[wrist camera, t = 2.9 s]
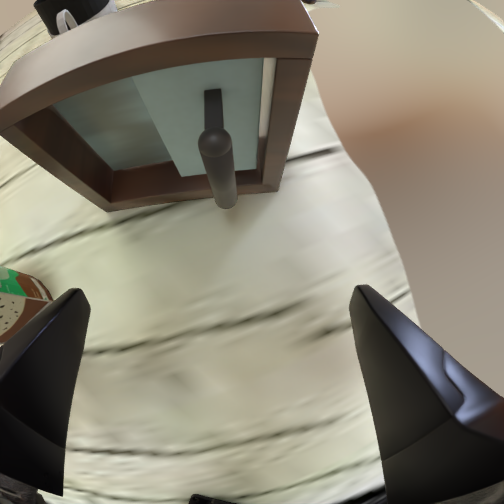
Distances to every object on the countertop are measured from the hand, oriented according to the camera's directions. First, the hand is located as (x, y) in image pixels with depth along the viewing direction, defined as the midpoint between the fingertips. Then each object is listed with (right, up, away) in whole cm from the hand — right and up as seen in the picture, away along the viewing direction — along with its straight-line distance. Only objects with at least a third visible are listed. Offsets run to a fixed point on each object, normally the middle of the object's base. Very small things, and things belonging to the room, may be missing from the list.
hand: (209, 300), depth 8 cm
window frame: (-4, +8, +14) cm, 17 cm away
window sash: (-1, +6, +11) cm, 13 cm away
